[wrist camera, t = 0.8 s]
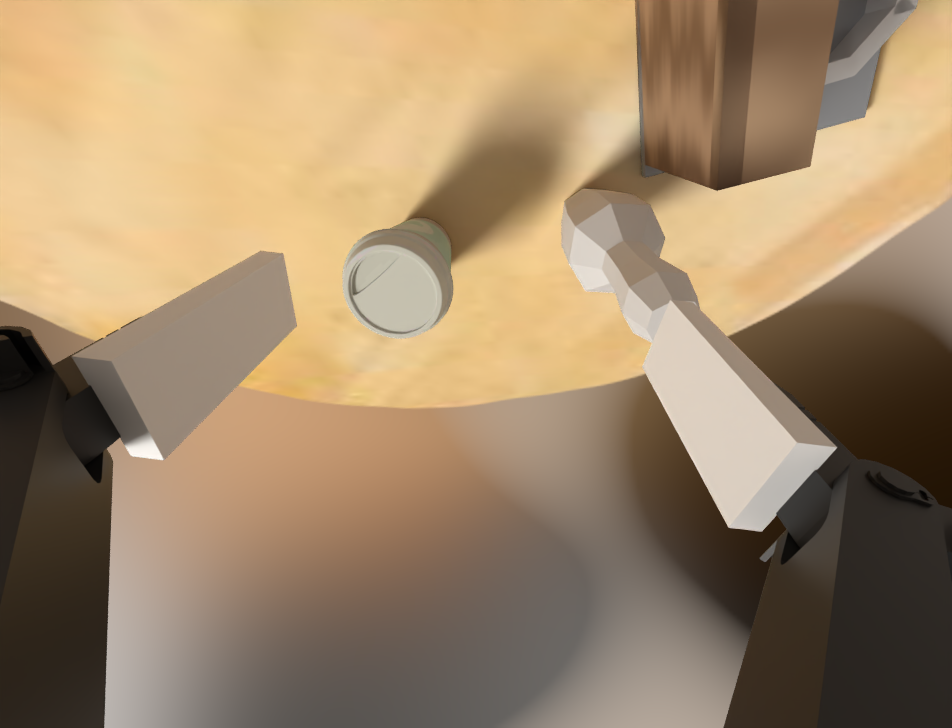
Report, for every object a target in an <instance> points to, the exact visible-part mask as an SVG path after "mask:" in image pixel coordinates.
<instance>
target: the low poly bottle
mask: <svg viewBox="0 0 952 728" xmlns="http://www.w3.org/2000/svg"><path fill="white" fill-rule="evenodd" d="M561 235H562V248H563V251H564V253H565V256H566V258H567V260H568V263H569V265H570V266H571V268H572V270H573V271H574V273H575V275H576V276H577V278H578V280H579V281H580V283H581V285H582V286H583V288H584V290H585V291H591V292H608V293H615V294H616V297H617V300H618V303H619V306H620V309H621V312H622V314H623V316H624V317H625V319H626V321H627V323H628V324H629V326H630V328H631V330H632V332H633V333H634V334H636V335H638V336H640V337H642V338H644V339H646V340H648V341H649V342H651V343H652V342H653V340H654V337H655V335H656V333H657V330H658V328H659V325H660V323H661V321H662V318H663V316H664V313H665V311H666V309H667V306H668V304H669V301H670V300H678V301H687V302H693V303H694V304H695V305H696V306H697V307H698V308H699V309H700V307H699V303H698V299H697V295H696V293H695V291H694V289H693V286H692V284H691V282H690V280H689V277H688V275H687V273H685V272H683V271H682V270H680V269H678V268H676V267H675V266H673V265H671V264H669V263H668V262H666V261H664V260H662V259H660V258H659V257H660V253H661V250H662V247H663V244H664V240H665V236H664V234H663V232H662V230H661V228H660V226H659V223H658V221H657V219H656V217H655V215H654V212H653V210H652V208H651V206H650V205H649V204H647V203H646V202H644V201H643V200H641V199H639V198H638V197H636V196H635V195H633V194H629V193H623V192H616V191H610V190H603V189H581V190H580V191H579V192H577V193H576V194H574V195H573V196H571V197H570V198H568V199H567V200H566V201H565V202H564V208H563V215H562V221H561Z"/></svg>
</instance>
